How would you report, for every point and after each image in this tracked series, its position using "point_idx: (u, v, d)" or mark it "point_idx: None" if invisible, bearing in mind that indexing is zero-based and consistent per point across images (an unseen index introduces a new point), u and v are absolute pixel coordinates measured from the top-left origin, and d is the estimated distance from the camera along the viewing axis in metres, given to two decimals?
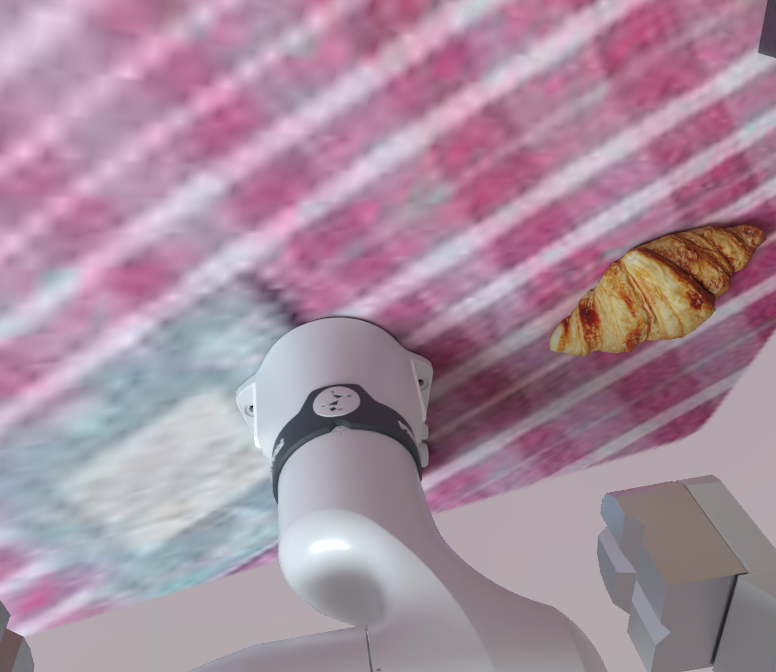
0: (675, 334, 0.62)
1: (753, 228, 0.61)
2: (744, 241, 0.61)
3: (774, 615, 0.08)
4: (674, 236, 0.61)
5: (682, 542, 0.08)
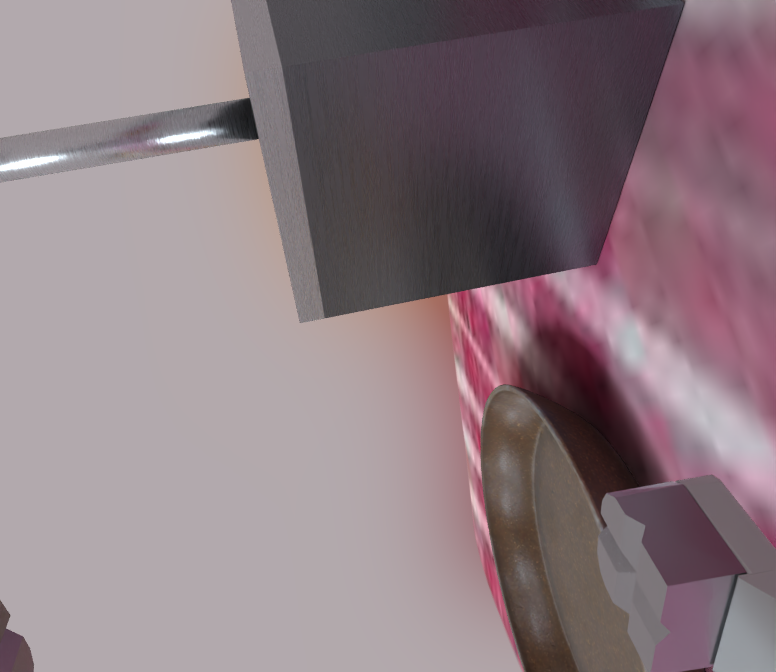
0: None
1: None
2: None
3: (774, 615, 0.08)
4: None
5: (682, 542, 0.08)
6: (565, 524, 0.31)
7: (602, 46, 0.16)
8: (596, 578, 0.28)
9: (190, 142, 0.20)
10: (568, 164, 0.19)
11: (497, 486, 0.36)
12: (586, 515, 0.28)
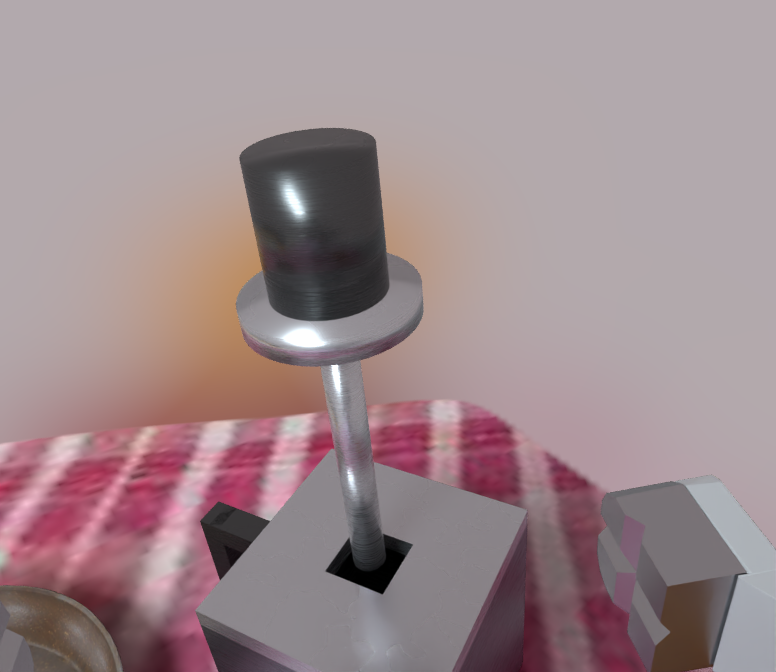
0: None
1: None
2: None
3: (775, 615, 0.08)
4: None
5: (682, 542, 0.08)
6: None
7: None
8: None
9: (354, 529, 0.24)
10: None
11: None
12: None
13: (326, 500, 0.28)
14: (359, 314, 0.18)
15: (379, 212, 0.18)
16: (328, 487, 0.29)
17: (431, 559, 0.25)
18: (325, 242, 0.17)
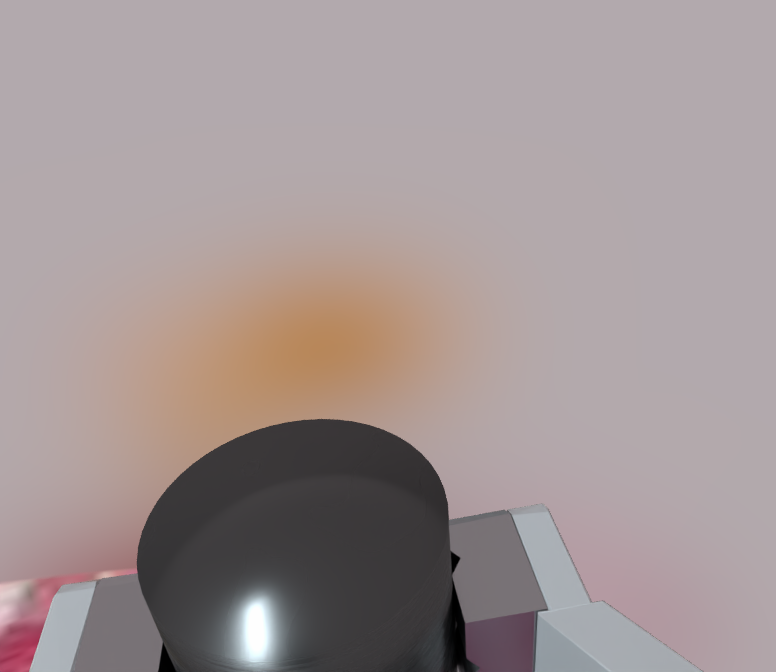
0: None
1: None
2: None
3: (569, 653, 0.07)
4: None
5: (492, 576, 0.08)
6: None
7: None
8: None
9: None
10: None
11: None
12: None
13: None
14: None
15: (451, 636, 0.08)
16: None
17: None
18: None
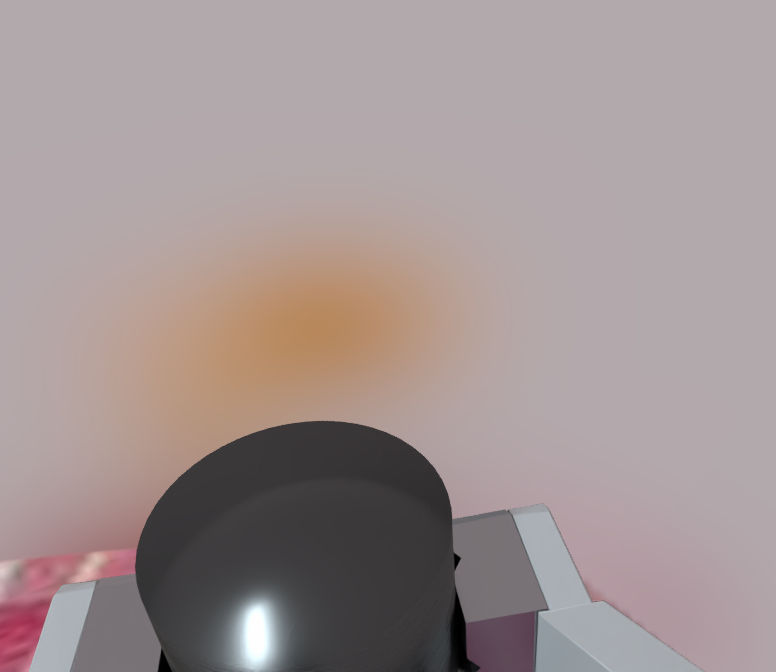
0: None
1: None
2: None
3: (570, 654, 0.07)
4: None
5: (493, 576, 0.08)
6: None
7: None
8: None
9: None
10: None
11: None
12: None
13: None
14: None
15: (454, 642, 0.08)
16: None
17: None
18: None
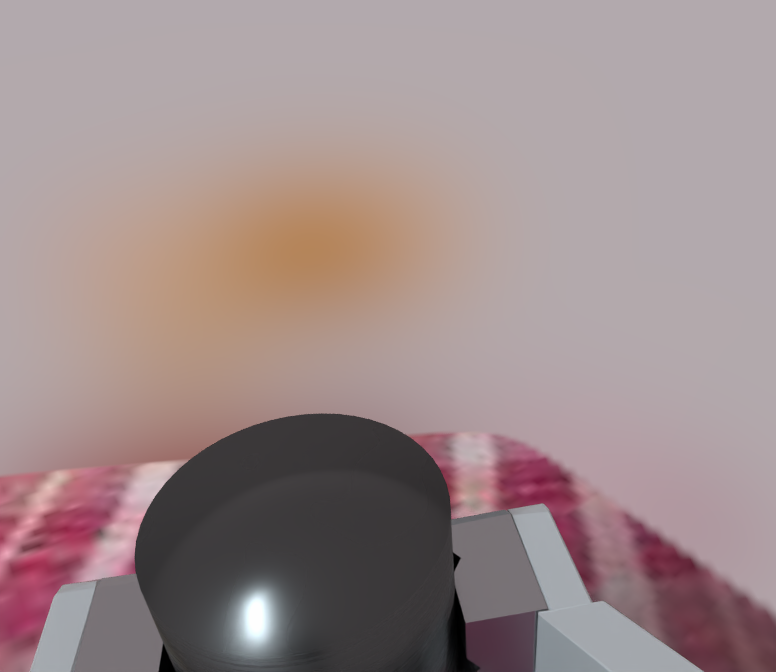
0: None
1: None
2: None
3: (570, 653, 0.07)
4: None
5: (493, 576, 0.08)
6: None
7: None
8: None
9: None
10: None
11: None
12: None
13: None
14: None
15: (453, 632, 0.08)
16: None
17: None
18: None
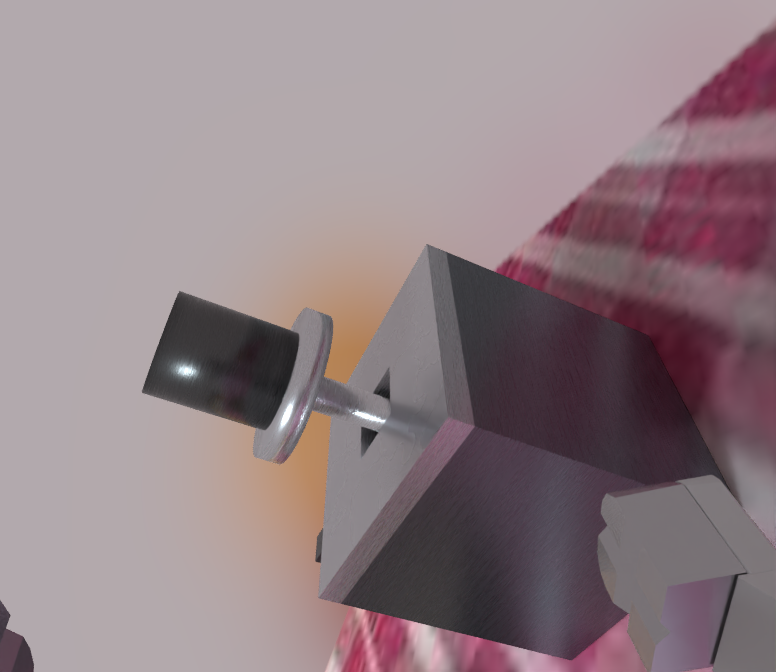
0: None
1: None
2: None
3: (775, 615, 0.08)
4: None
5: (682, 542, 0.08)
6: None
7: None
8: None
9: None
10: None
11: None
12: None
13: (342, 432, 0.27)
14: (294, 366, 0.21)
15: (229, 313, 0.22)
16: (340, 426, 0.28)
17: (400, 353, 0.23)
18: (219, 362, 0.21)
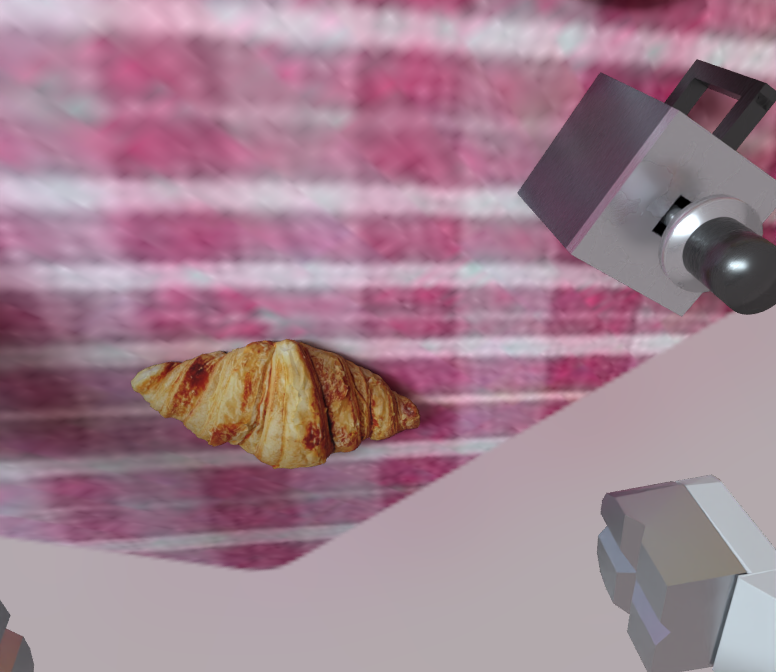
0: (269, 459, 0.49)
1: (414, 408, 0.52)
2: (398, 414, 0.52)
3: (774, 615, 0.08)
4: (342, 359, 0.50)
5: (682, 542, 0.08)
6: None
7: (532, 192, 0.45)
8: None
9: None
10: (565, 146, 0.44)
11: None
12: None
13: (739, 191, 0.38)
14: (682, 264, 0.36)
15: None
16: (751, 191, 0.38)
17: None
18: (704, 272, 0.34)
